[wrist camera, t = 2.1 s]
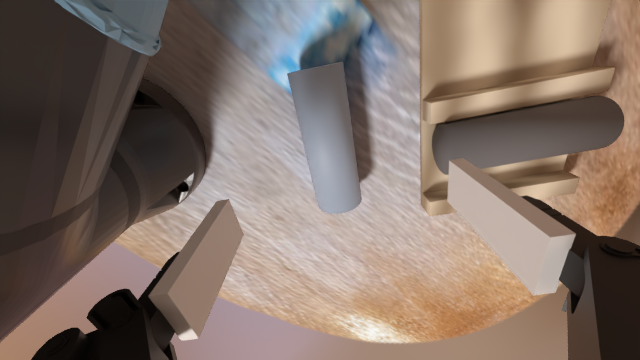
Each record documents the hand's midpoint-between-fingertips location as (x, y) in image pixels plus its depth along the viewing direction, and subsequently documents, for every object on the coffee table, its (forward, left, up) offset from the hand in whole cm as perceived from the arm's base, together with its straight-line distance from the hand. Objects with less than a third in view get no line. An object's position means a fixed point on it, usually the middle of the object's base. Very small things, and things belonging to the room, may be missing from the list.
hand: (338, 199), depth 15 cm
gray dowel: (0, 0, -14) cm, 14 cm away
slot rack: (+18, +1, -13) cm, 22 cm away
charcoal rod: (+18, -5, -10) cm, 21 cm away
